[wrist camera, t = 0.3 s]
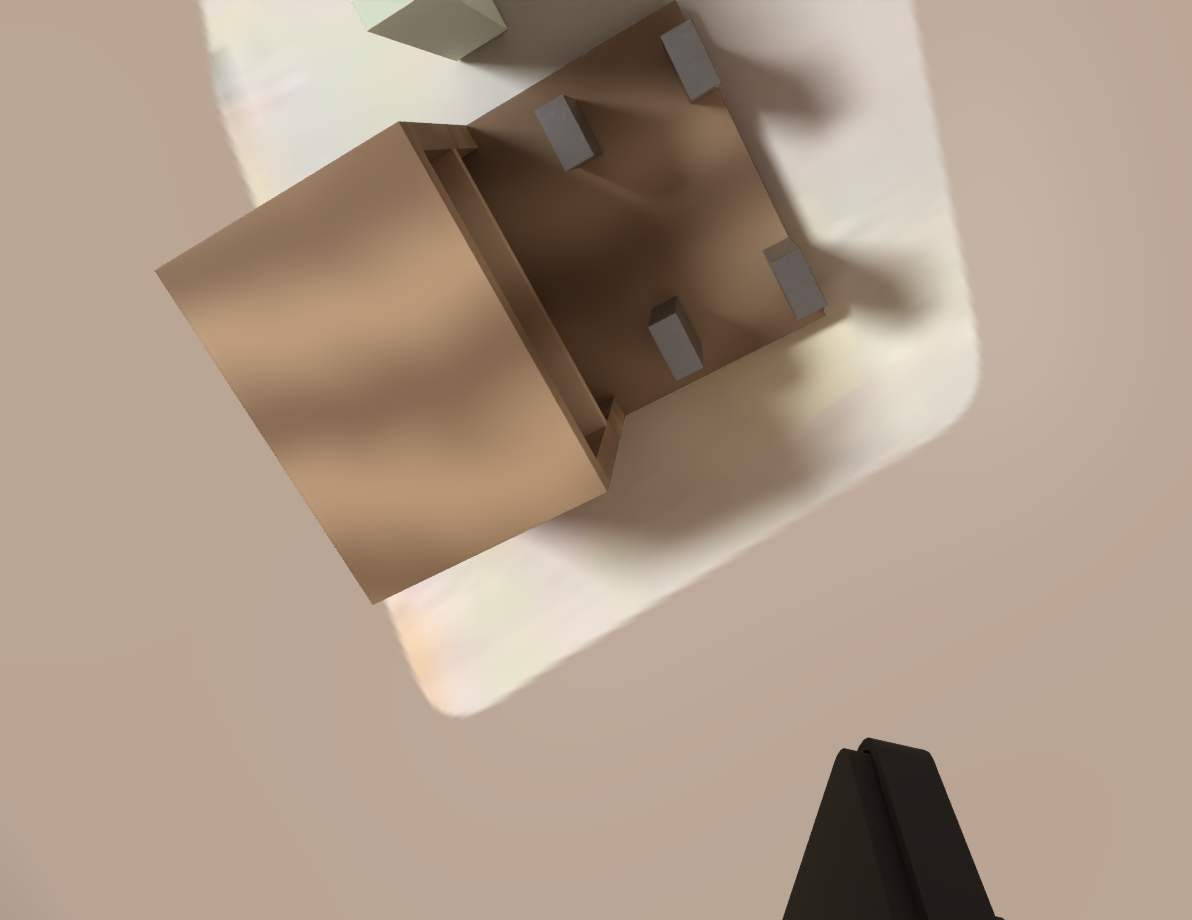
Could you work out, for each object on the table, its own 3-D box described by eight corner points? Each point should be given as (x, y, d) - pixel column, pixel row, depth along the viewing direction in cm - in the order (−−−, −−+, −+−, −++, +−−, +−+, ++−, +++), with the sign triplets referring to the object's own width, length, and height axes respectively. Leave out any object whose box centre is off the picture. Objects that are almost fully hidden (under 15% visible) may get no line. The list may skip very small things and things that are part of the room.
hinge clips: (550, 114, 40) (534, 111, 36) (690, 31, 38) (690, 18, 34) (677, 356, 43) (676, 380, 38) (812, 287, 41) (827, 305, 37)
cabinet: (282, 239, 44) (154, 270, 33) (675, 3, 39) (671, -46, 29) (442, 501, 47) (372, 604, 36) (822, 311, 42) (866, 367, 32)
